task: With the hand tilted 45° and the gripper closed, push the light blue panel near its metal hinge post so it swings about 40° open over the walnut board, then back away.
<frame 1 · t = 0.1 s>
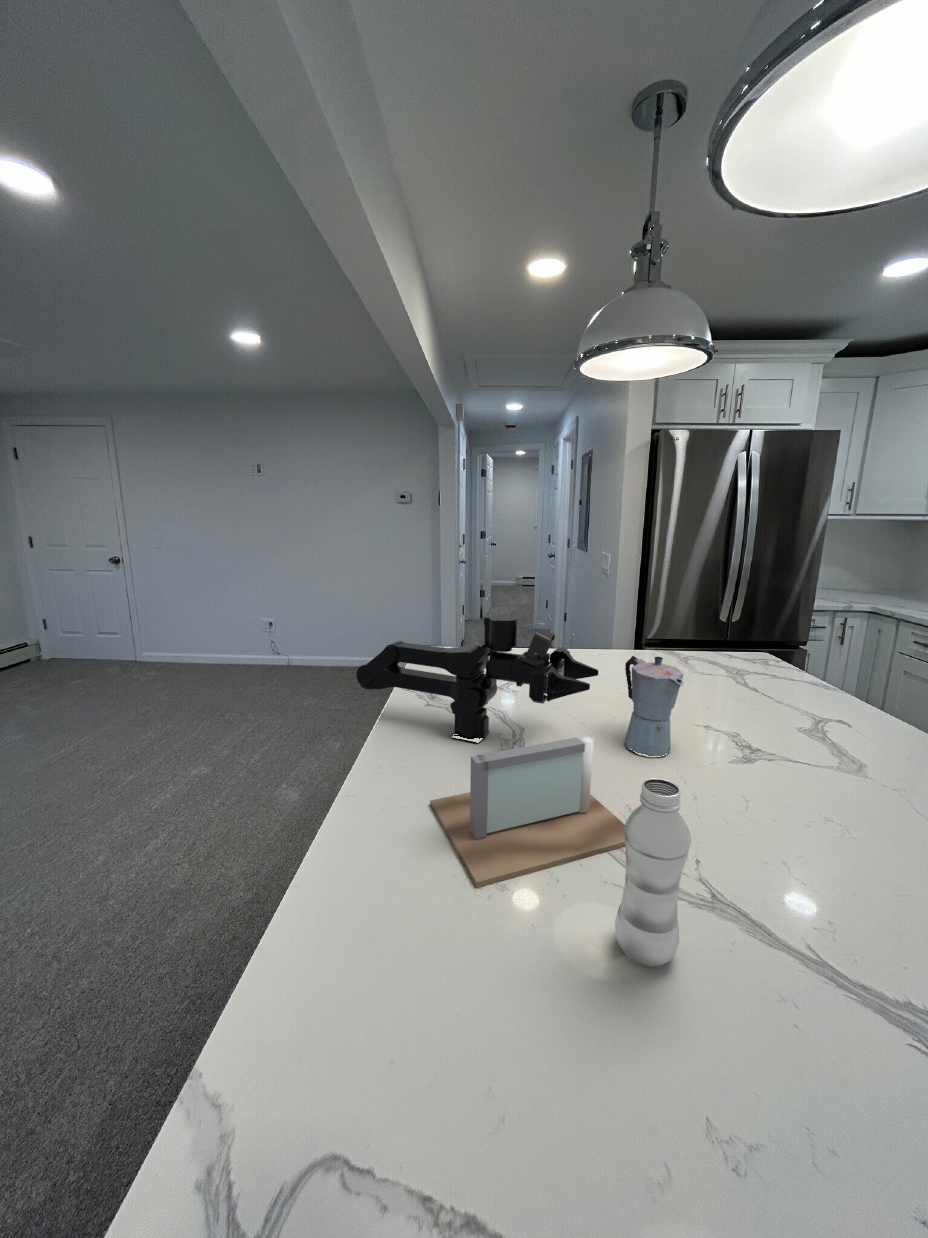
hand: (594, 679, 95), 17 cm above the counter, tool horizontal, fingers open, 9 cm apart
walnut board: (528, 822, 78), on the counter
moka pot: (644, 748, 104), on the counter
light blue panel: (534, 785, 76), point 7 cm above the counter, hinge at 0.0°
plastic bottle: (644, 952, 56), on the counter
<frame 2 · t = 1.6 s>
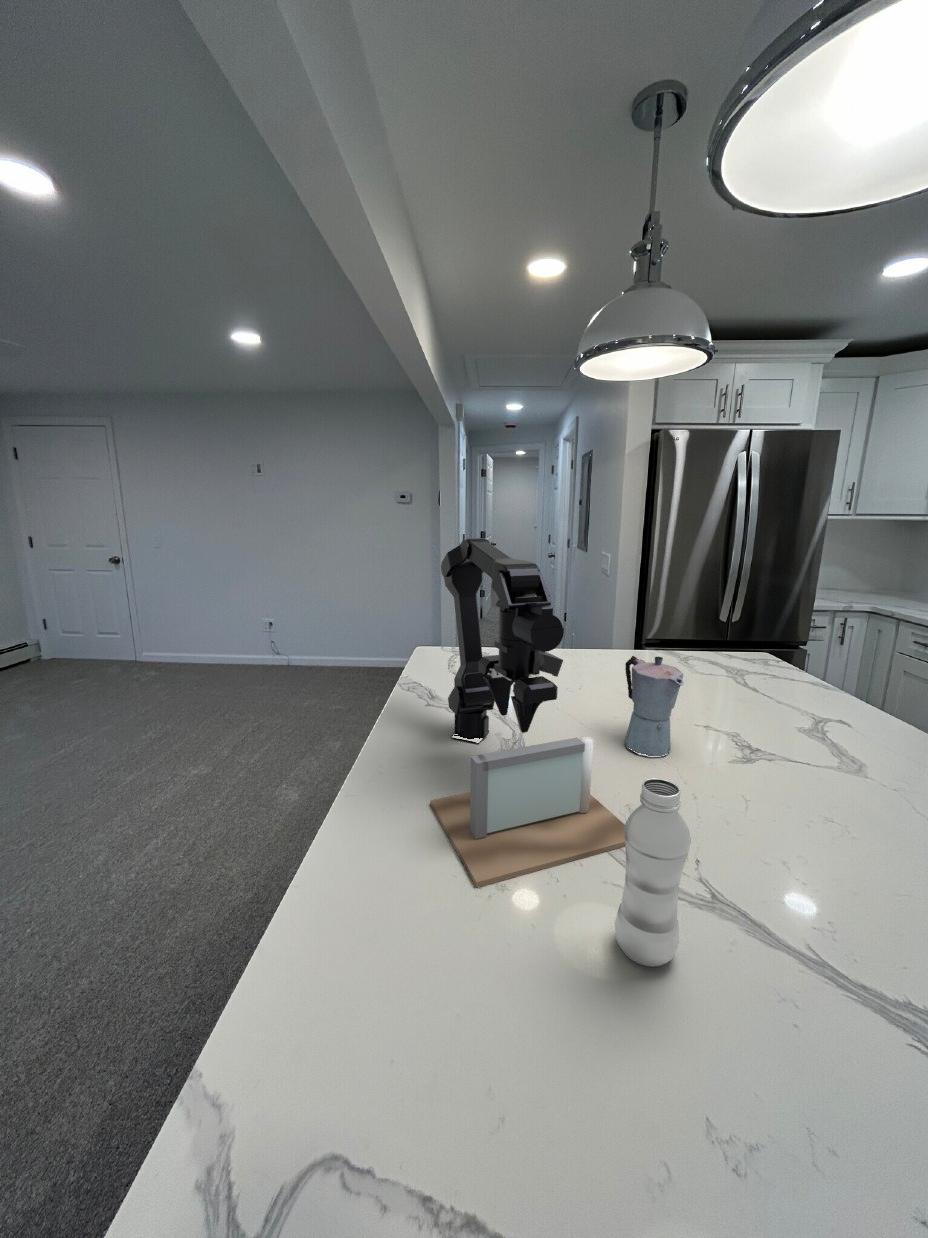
hand: (513, 723, 88), 11 cm above the counter, tool pointing down, fingers open, 8 cm apart
nothing on the counter moved.
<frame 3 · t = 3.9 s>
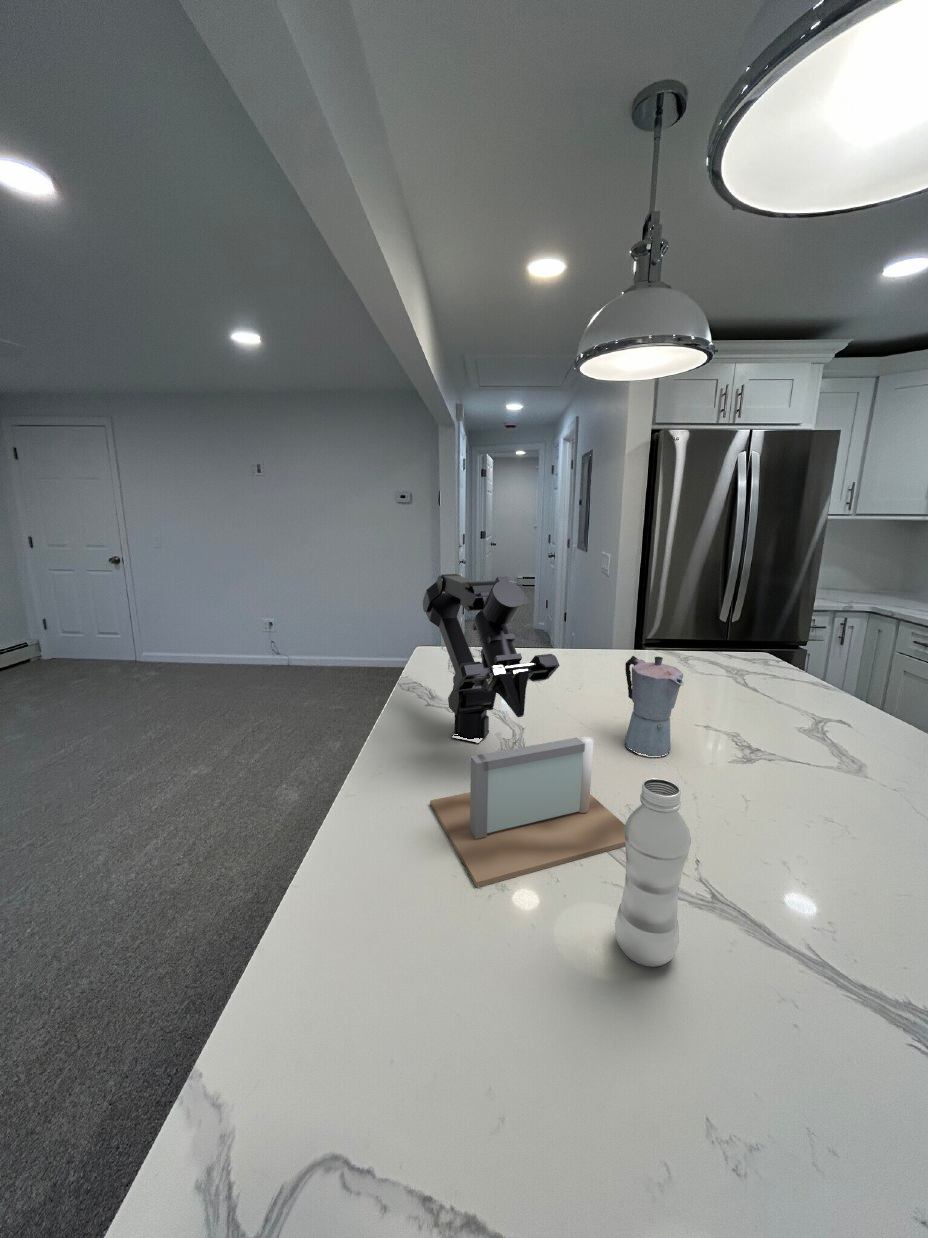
hand: (520, 716, 85), 14 cm above the counter, tool tilted 45°, fingers closed
nothing on the counter moved.
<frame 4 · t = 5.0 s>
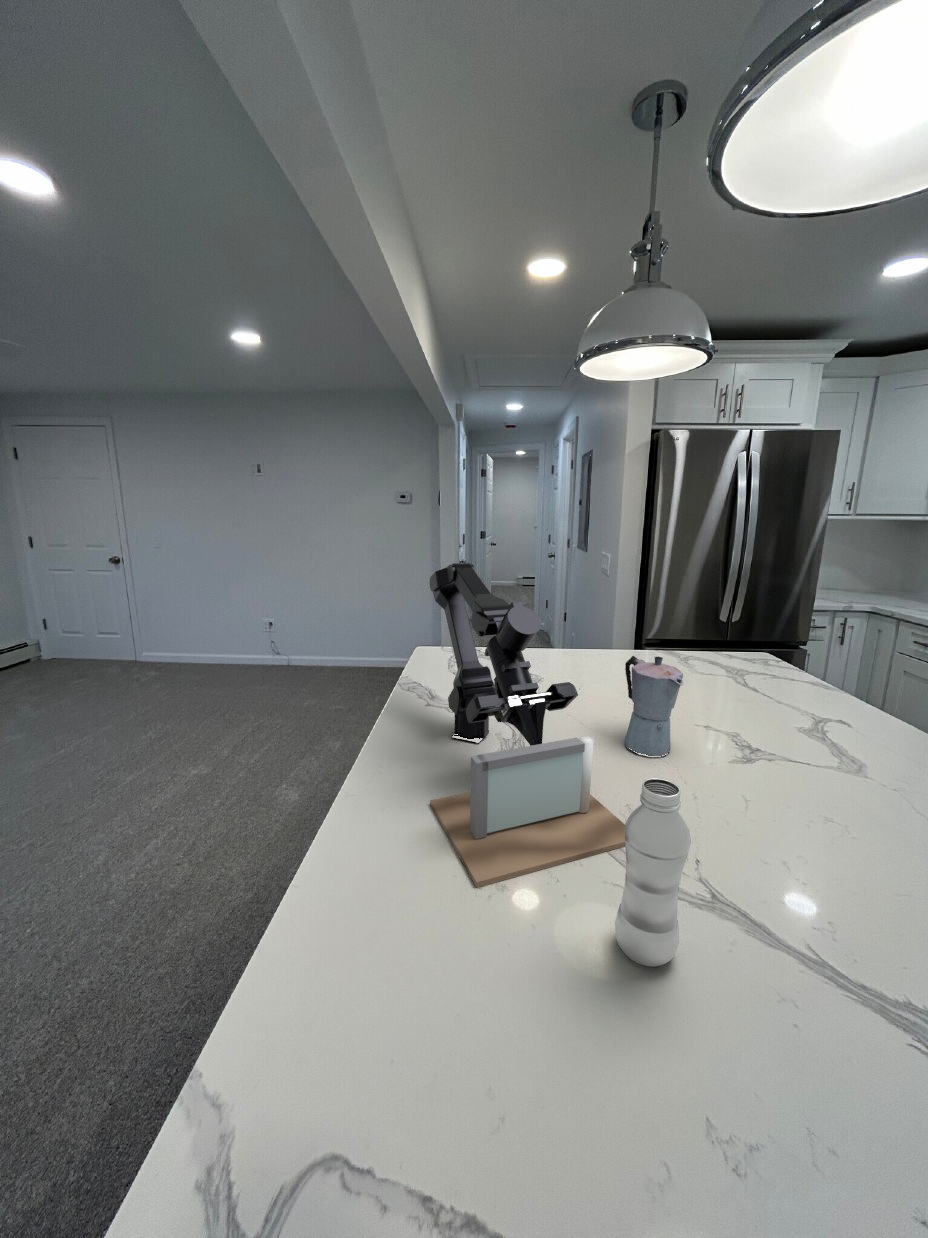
hand: (538, 750, 80), 10 cm above the counter, tool tilted 45°, fingers closed
nothing on the counter moved.
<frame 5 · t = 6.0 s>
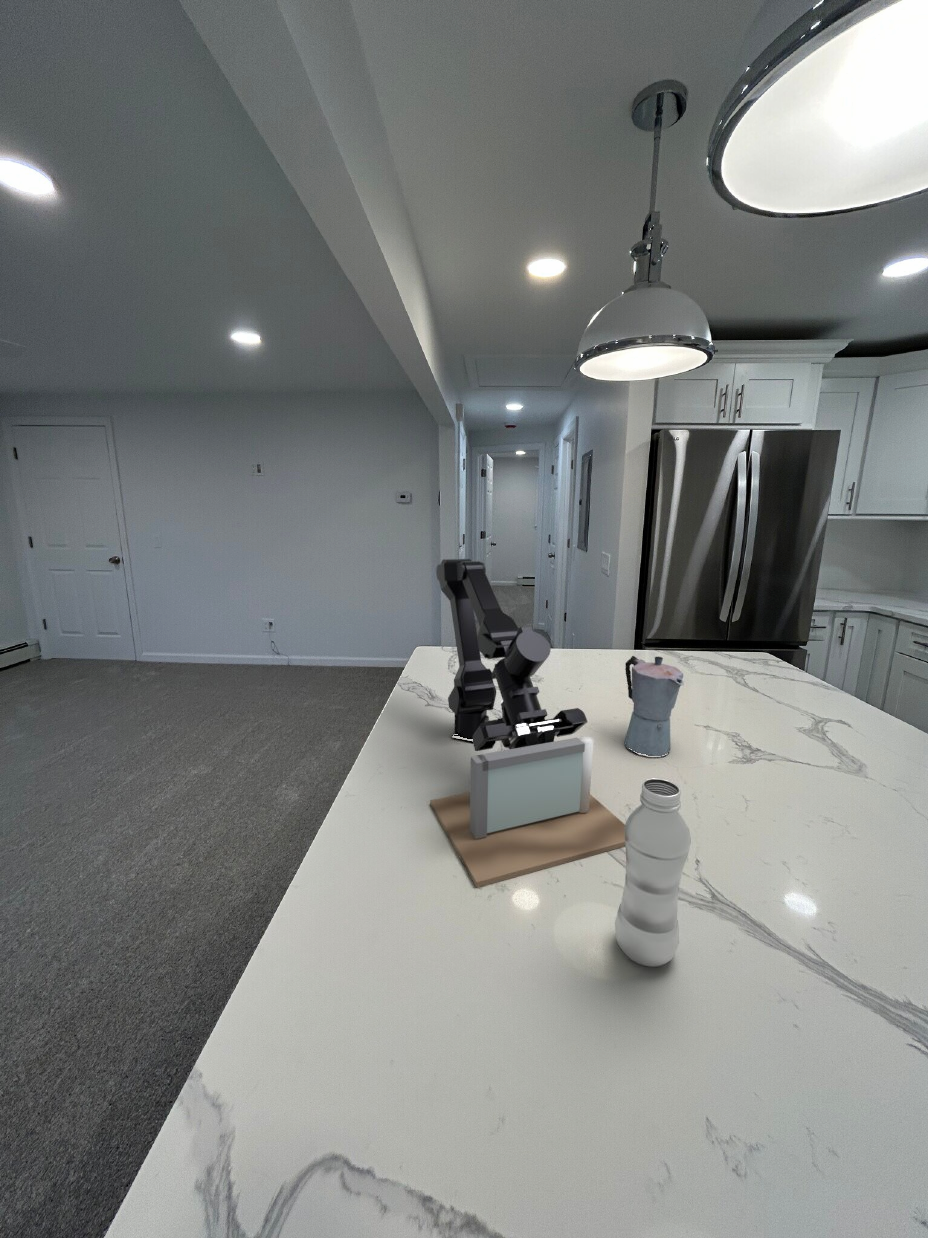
hand: (547, 780, 78), 7 cm above the counter, tool tilted 45°, fingers closed, pressing on light blue panel
light blue panel: (534, 785, 76), point 7 cm above the counter, hinge at 0.0°, touching gripper
everything else where it was.
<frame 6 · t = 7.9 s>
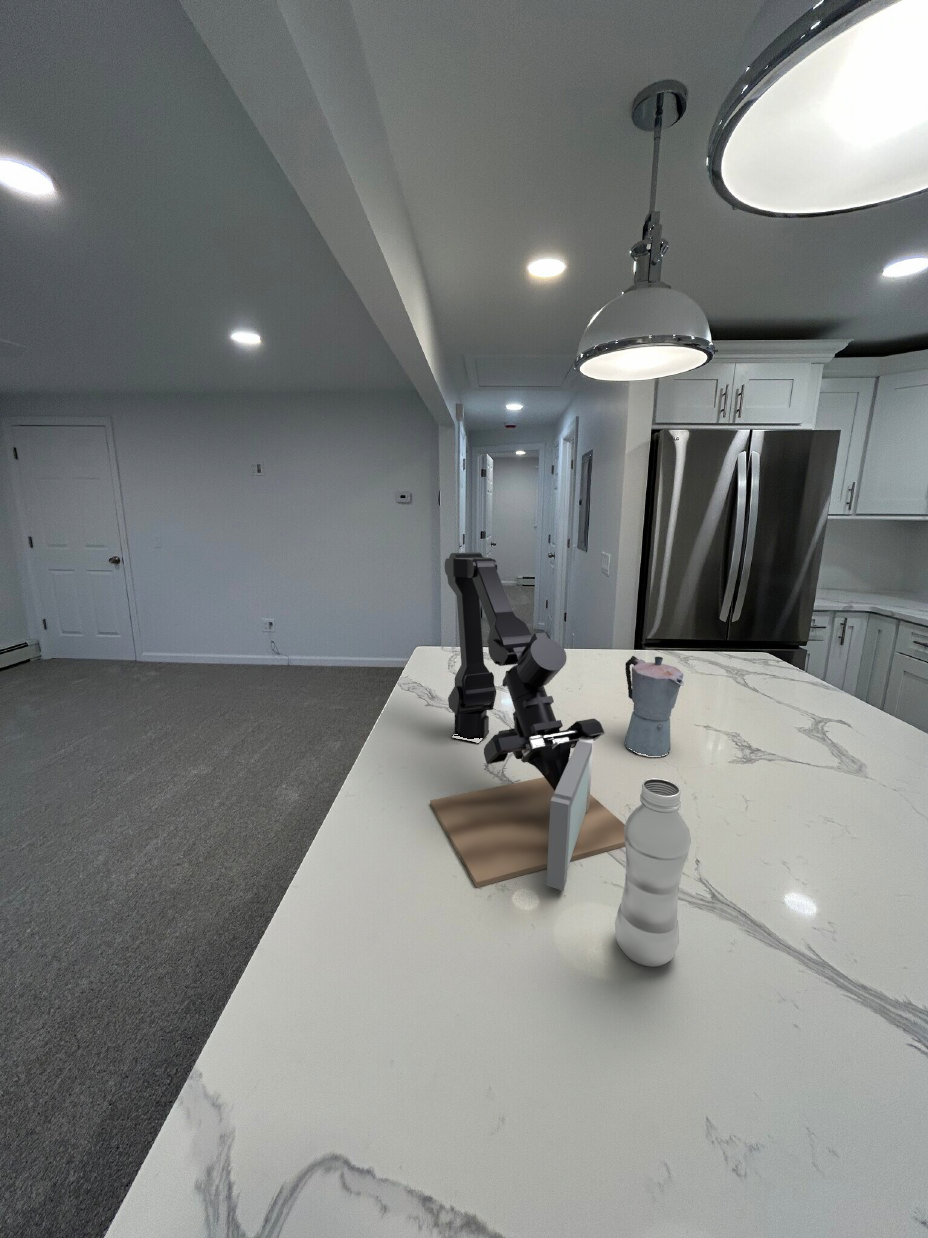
hand: (562, 796, 74), 7 cm above the counter, tool tilted 45°, fingers closed
light blue panel: (572, 804, 71), point 7 cm above the counter, hinge at 45.8°
everything else where it was.
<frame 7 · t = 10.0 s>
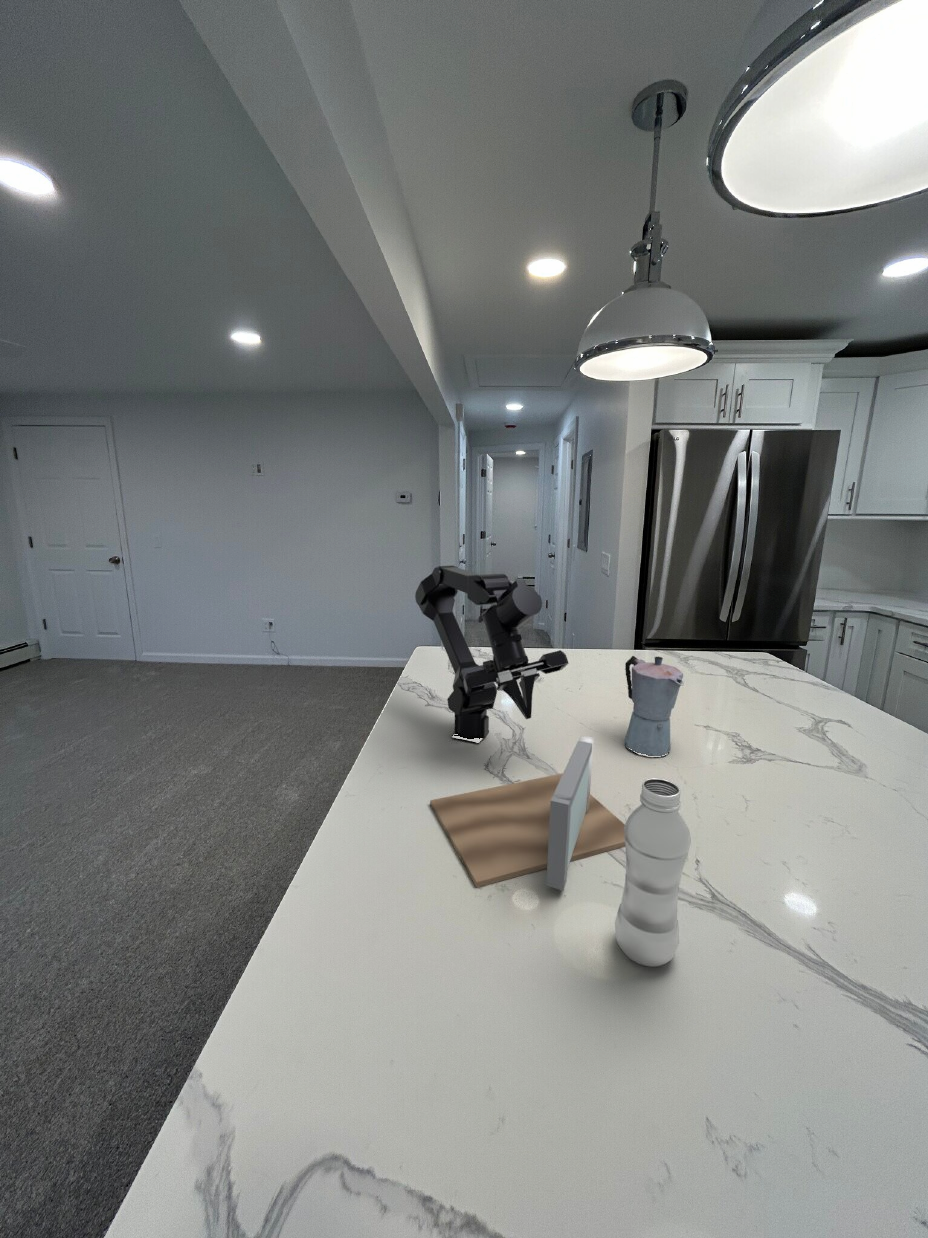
hand: (528, 718, 88), 12 cm above the counter, tool tilted 35°, fingers closed
nothing on the counter moved.
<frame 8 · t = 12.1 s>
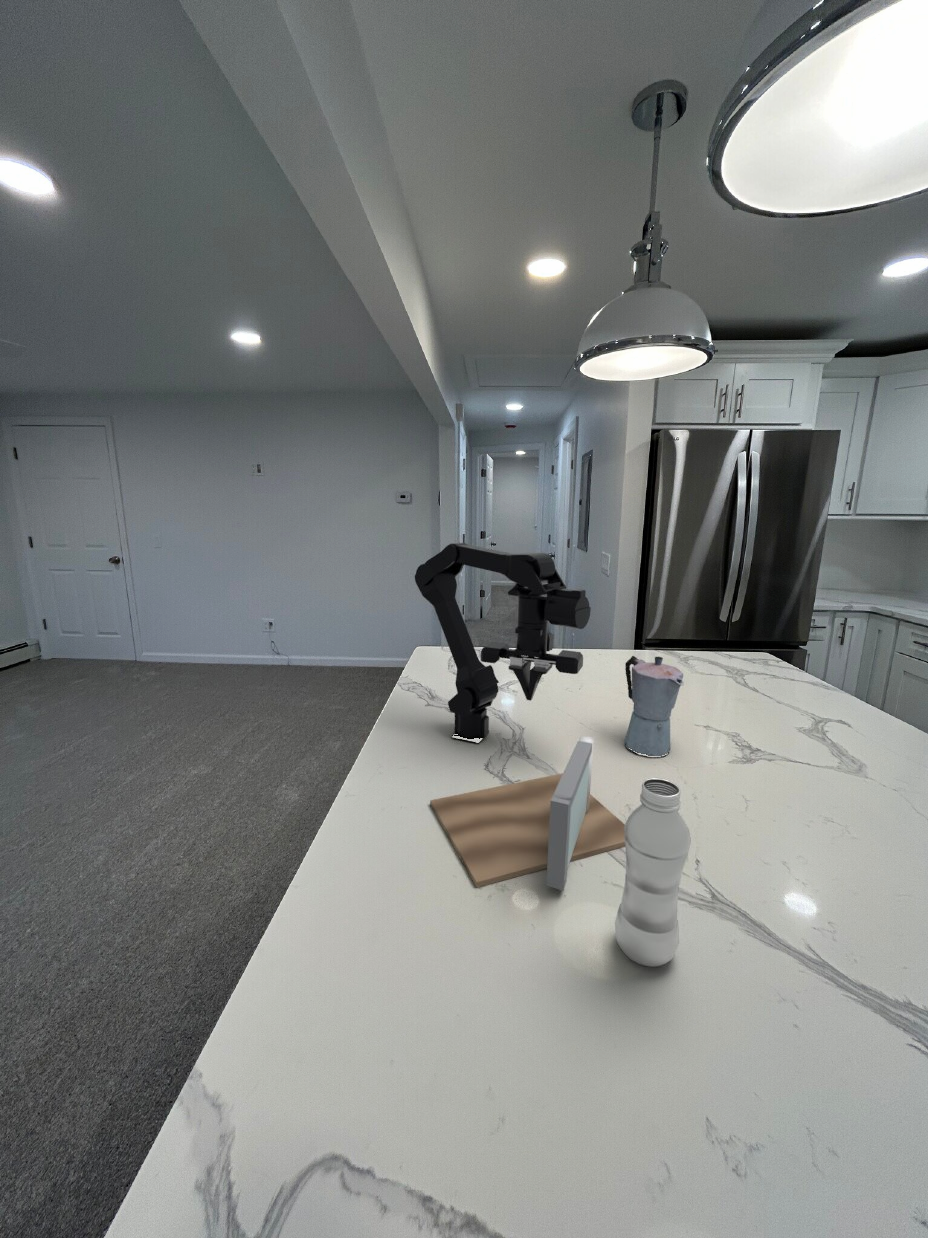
hand: (529, 699, 97), 12 cm above the counter, tool pointing down, fingers closed
nothing on the counter moved.
at the end: light blue panel at +46° (first picture: +0°); plastic bottle moved 0.2 cm from its start; moka pot moved 0.2 cm from its start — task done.
